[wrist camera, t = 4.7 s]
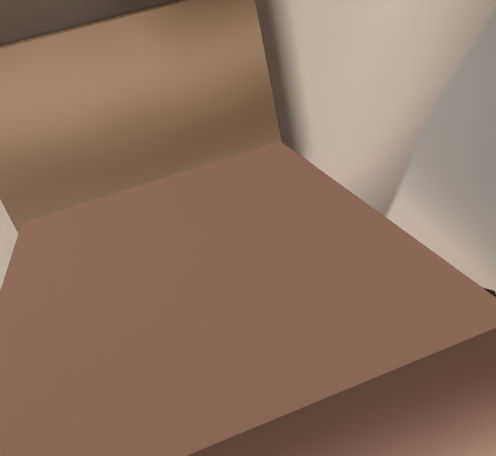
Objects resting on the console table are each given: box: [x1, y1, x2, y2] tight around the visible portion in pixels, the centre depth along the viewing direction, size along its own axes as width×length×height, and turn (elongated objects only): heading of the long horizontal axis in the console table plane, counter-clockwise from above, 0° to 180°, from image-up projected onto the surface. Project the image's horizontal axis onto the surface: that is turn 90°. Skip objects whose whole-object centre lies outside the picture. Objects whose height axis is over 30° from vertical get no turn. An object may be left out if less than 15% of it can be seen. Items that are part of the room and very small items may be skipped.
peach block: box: [0, 141, 496, 456], centre depth 7 cm, size 5×5×6 cm
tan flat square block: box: [0, 0, 282, 234], centre depth 18 cm, size 10×10×3 cm
